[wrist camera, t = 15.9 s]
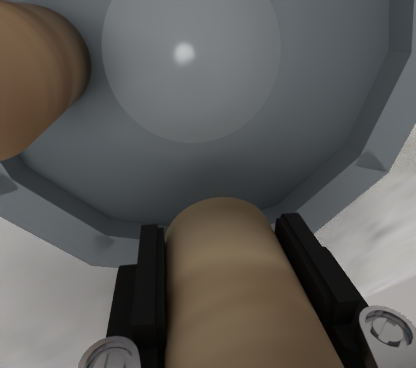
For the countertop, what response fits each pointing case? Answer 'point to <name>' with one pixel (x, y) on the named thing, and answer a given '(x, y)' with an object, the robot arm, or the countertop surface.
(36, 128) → the walnut bead
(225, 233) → the oak bead
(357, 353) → the robot arm
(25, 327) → the countertop surface
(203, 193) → the slate tray
